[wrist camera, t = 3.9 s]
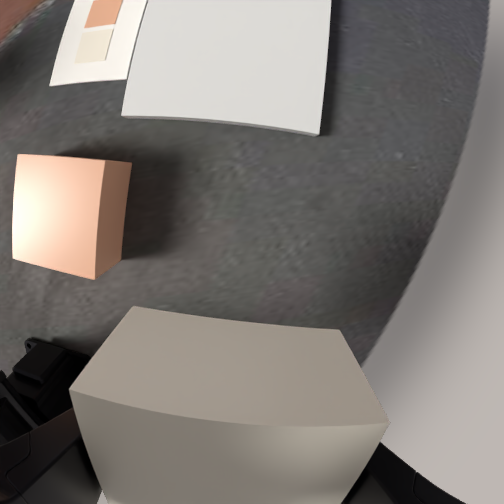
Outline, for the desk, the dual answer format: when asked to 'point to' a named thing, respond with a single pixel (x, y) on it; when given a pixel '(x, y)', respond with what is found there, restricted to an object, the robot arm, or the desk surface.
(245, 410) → the brick ivory
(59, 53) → the page
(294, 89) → the baseplate
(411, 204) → the desk surface
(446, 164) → the desk surface
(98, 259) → the brick orange
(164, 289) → the desk surface
